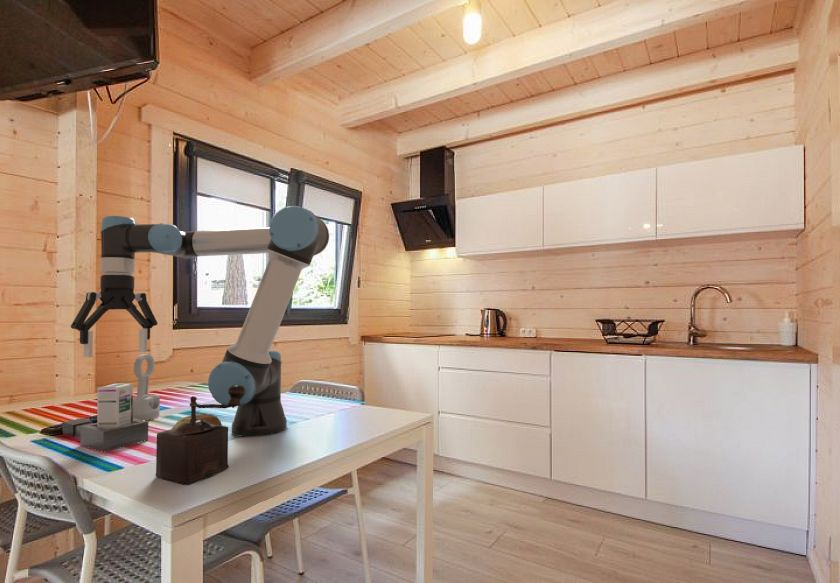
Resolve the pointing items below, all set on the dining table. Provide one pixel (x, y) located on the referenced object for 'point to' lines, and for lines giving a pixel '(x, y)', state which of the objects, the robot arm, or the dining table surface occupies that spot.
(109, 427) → the syrup box
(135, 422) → the grey storage bin
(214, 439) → the coffee grinder
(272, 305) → the robot arm
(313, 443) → the dining table surface
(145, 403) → the engine component
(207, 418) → the bread roll
